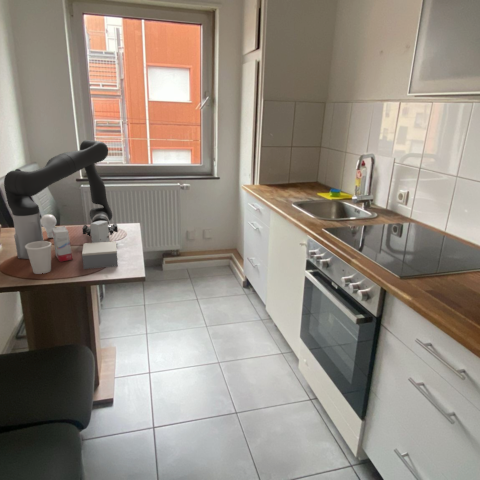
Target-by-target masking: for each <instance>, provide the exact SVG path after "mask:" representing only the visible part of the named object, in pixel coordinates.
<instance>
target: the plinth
mask: <svg viewBox="0 0 480 480" xmlns="http://www.w3.org/2000/svg"><path fill="white" fill-rule="evenodd" d="M81 253H82V254H81V258H82V267H83V270H88V269H89V268H90V269H98V268H99V269H101V268H110V267H111V268H112V267H118V264H119V263H118V262H119V261H118V251H117V240H116V241H115V240H113V241H112V240H111V241H110V242H97V243H92V242H86V243H83V246H82V252H81Z"/></svg>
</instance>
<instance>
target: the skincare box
mask: <svg viewBox="0 0 480 480" xmlns="http://www.w3.org/2000/svg"><path fill="white" fill-rule="evenodd" d="M89 227H91V236H90V238H91V243H97V242H111V241H110V232H109V229H108V221H102V220H100V221H96V222H93V223H92V222H90V224H89Z"/></svg>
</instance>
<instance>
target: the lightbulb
mask: <svg viewBox="0 0 480 480" xmlns="http://www.w3.org/2000/svg"><path fill="white" fill-rule="evenodd" d="M40 219H41V226H42V227H43V228H44V229H45V232H46V236H47V238H48V239H53V232H52V228H53V227H56V225H57V219H56V217H55V216H54V215H53V214H49V213H48V214H47V213H46V214H44V215H42V216H41V217H40Z"/></svg>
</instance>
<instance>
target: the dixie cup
mask: <svg viewBox="0 0 480 480" xmlns="http://www.w3.org/2000/svg"><path fill="white" fill-rule="evenodd" d="M52 245H53V244H52V242H50V241H48V240H44V241H37V242H32V243H29V244H27V245H26V246H25V248H26V249H27V253H28V256H29V259H28V260H29V262H30V265H31V269H32V272H33V274H35V275H36V274H37V275H41V274H42V273H43V274H46V273H49V272H51V271H52ZM43 274H42V275H43Z"/></svg>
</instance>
